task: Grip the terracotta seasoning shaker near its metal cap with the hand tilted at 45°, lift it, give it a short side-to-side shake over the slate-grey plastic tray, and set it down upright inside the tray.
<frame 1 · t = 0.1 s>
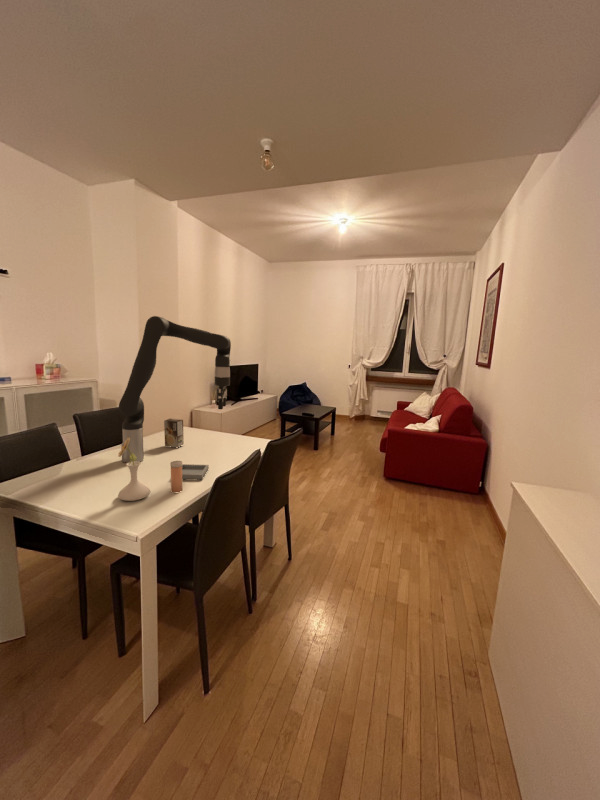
hand: (222, 407, 167), 29 cm above the table, tool pointing down, fingers open, 8 cm apart
tray: (191, 474, 154), on the table
flower in vase: (133, 498, 128), on the table
coffee box: (174, 446, 195), on the table
shaker: (176, 490, 136), on the table
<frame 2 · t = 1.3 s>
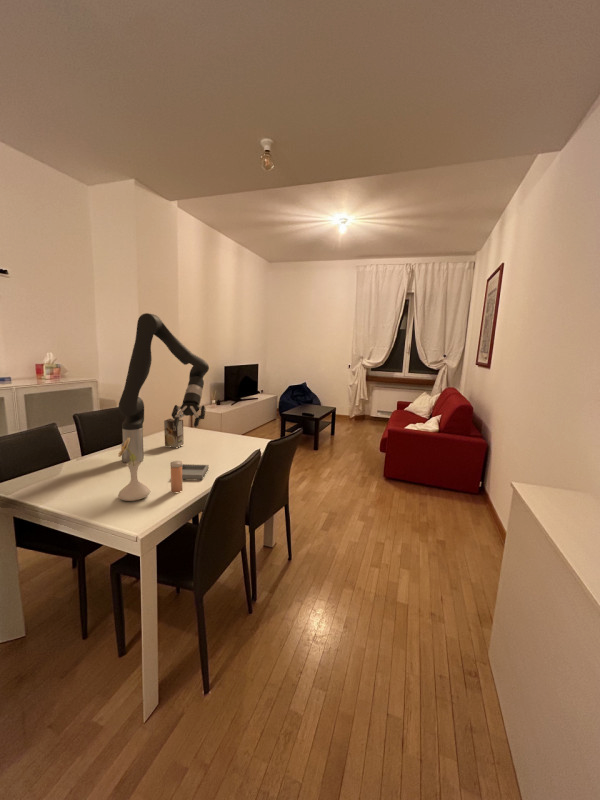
hand: (185, 426, 145), 24 cm above the table, tool tilted 45°, fingers open, 8 cm apart
nothing on the table moved.
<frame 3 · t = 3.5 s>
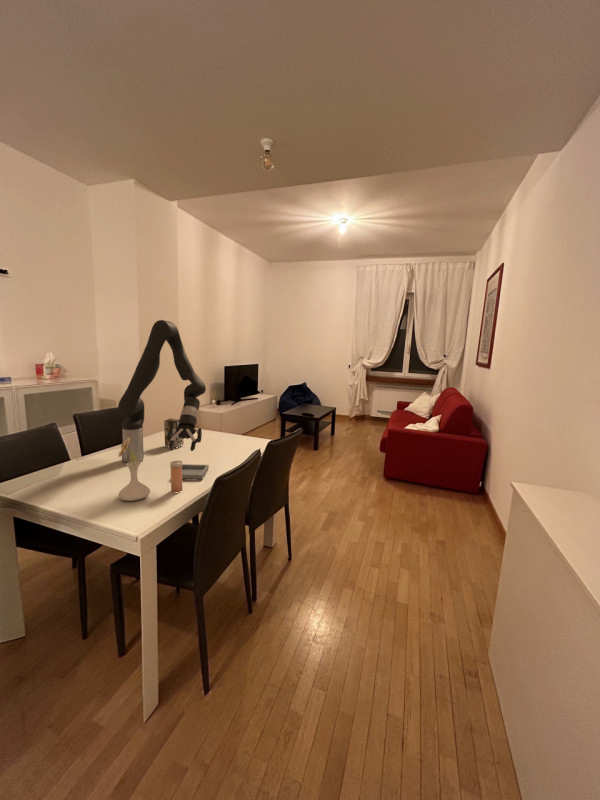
hand: (181, 450, 140), 16 cm above the table, tool tilted 45°, fingers open, 8 cm apart
nothing on the table moved.
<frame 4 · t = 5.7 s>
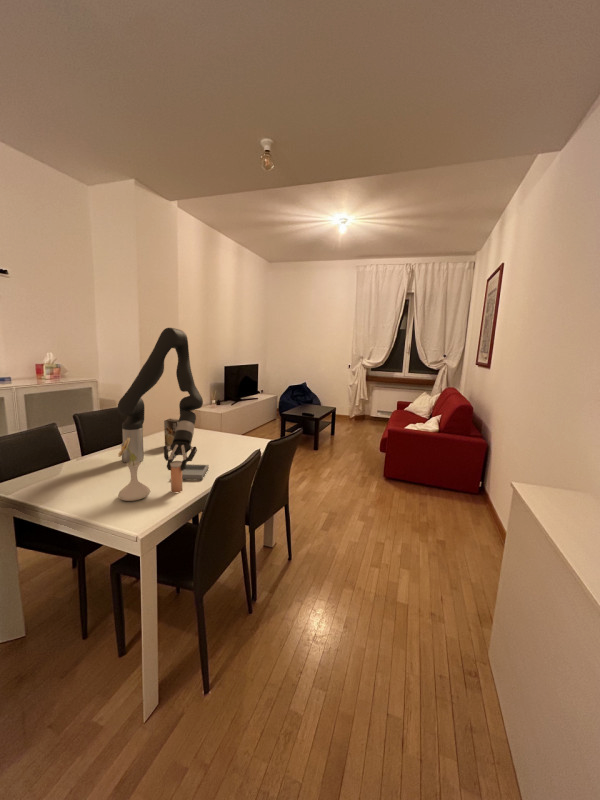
hand: (175, 469, 133), 10 cm above the table, tool tilted 45°, fingers closed on shaker, 4 cm apart
shaker: (176, 490, 136), on the table, touching gripper
everything else where it was.
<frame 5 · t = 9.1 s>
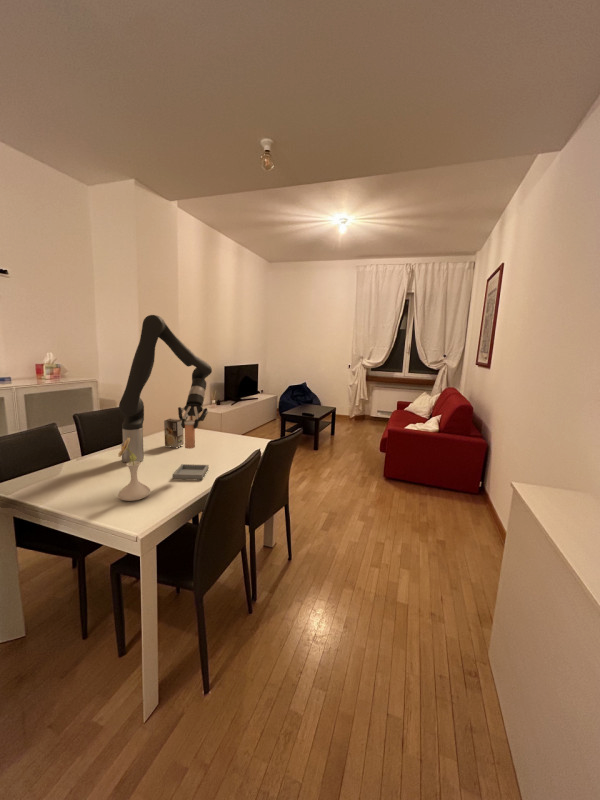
hand: (189, 427, 149), 23 cm above the table, tool tilted 45°, fingers closed on shaker, 4 cm apart
shaker: (189, 447, 152), point 13 cm above the table, touching gripper
everything else where it was.
when the fingers open (12 cm above the table, at t = 12.8 s): shaker drops 1 cm, resting on tray.
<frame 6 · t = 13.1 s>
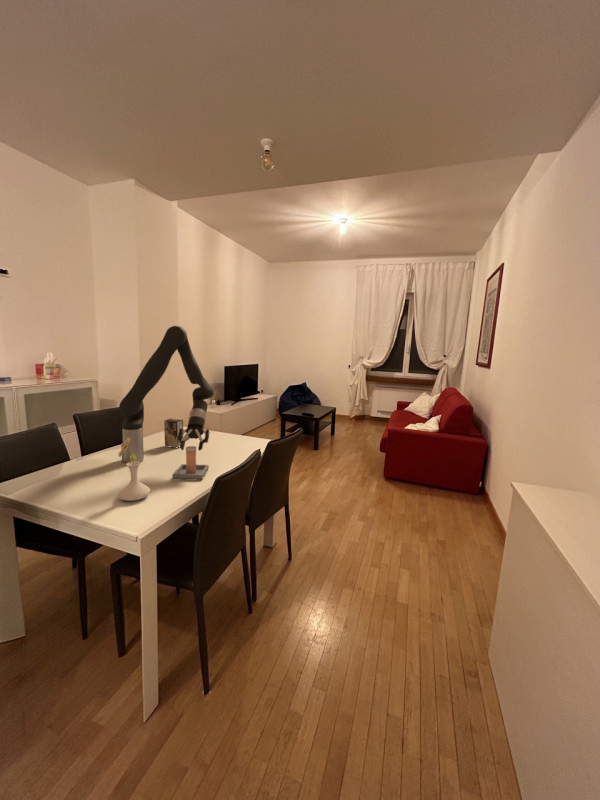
hand: (190, 449, 151), 12 cm above the table, tool tilted 45°, fingers open, 7 cm apart
shaker: (191, 472, 154), point 1 cm above the table, touching tray
everything else where it was.
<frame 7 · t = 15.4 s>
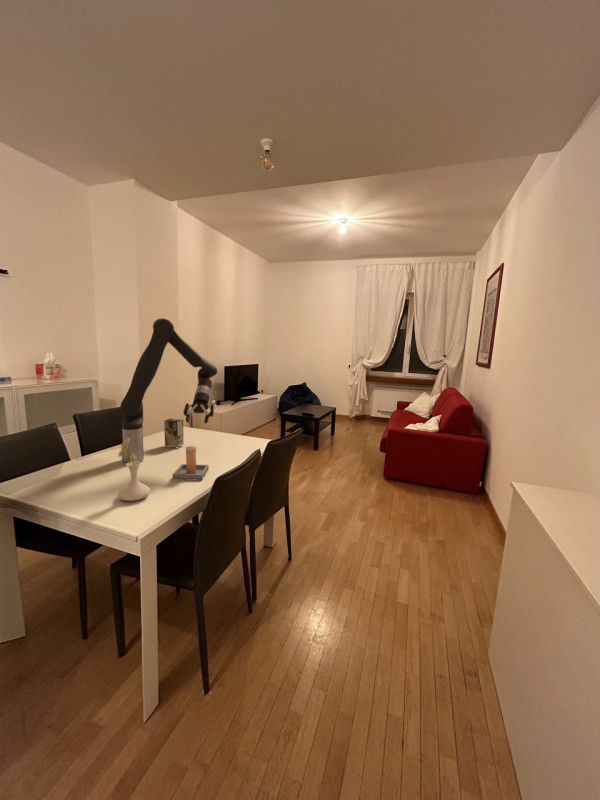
hand: (196, 422, 160), 23 cm above the table, tool tilted 45°, fingers open, 8 cm apart
nothing on the table moved.
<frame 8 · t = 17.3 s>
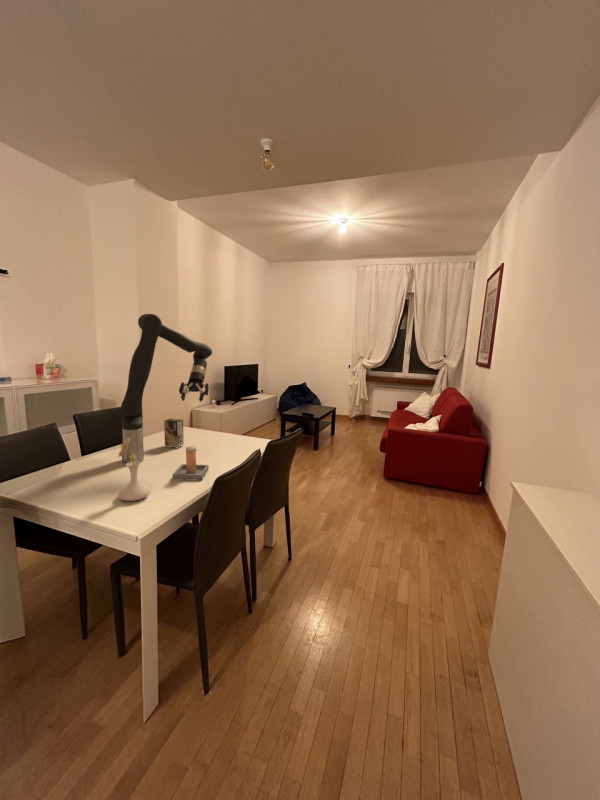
hand: (191, 400, 164), 33 cm above the table, tool tilted 45°, fingers open, 8 cm apart
nothing on the table moved.
at the end: shaker inside the target area on the tray (0.1 cm from its centre), point 0.8 cm above the tray's base; shaker tilted 0°; the gripper is holding nothing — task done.
